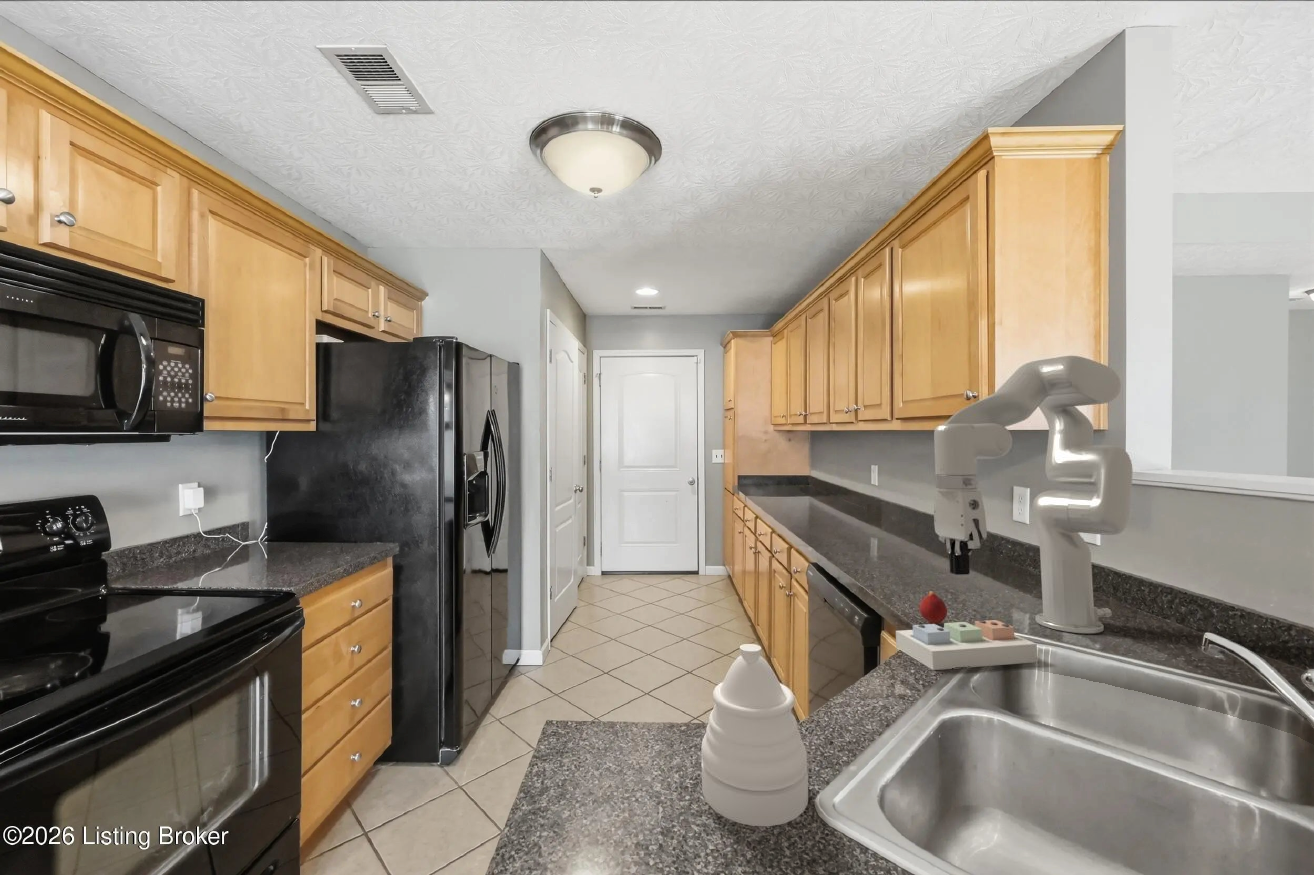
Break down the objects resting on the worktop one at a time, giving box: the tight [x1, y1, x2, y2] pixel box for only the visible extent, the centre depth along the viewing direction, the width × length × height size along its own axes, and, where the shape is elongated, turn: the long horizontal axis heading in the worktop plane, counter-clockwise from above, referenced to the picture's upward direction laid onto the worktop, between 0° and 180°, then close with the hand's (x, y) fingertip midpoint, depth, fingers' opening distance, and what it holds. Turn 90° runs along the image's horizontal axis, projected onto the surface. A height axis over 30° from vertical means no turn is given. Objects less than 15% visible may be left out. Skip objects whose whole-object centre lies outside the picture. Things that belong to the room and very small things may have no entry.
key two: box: [912, 623, 950, 645], centre depth 106 cm, size 5×5×3 cm
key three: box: [974, 619, 1015, 641], centre depth 108 cm, size 5×5×3 cm
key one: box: [943, 621, 983, 643], centre depth 107 cm, size 5×5×3 cm
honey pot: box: [700, 643, 809, 827], centre depth 65 cm, size 13×13×18 cm
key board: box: [895, 629, 1038, 671], centre depth 107 cm, size 22×12×4 cm, turn 97°
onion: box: [918, 590, 948, 625], centre depth 125 cm, size 6×6×8 cm
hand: (959, 573), depth 107 cm, fingers closed
